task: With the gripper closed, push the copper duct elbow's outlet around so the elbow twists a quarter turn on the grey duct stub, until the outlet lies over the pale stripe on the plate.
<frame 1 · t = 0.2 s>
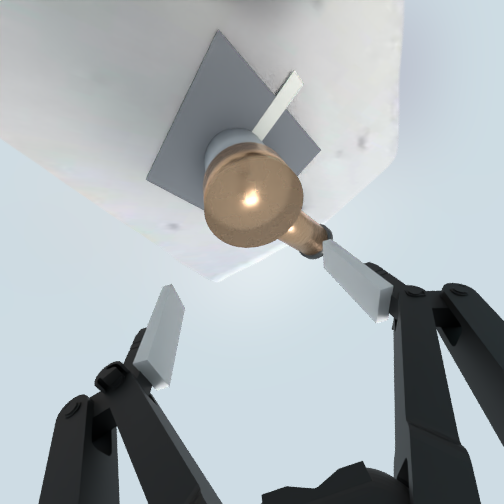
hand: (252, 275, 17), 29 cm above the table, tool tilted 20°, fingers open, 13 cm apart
copper elbow: (274, 215, 31), point 14 cm above the table, hinge at 0.0°
duct stub: (236, 162, 38), on the table
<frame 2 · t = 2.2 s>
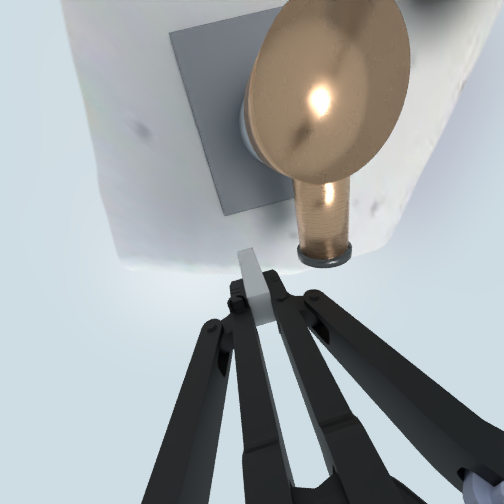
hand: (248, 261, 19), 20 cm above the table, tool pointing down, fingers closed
copper elbow: (319, 162, 21), point 14 cm above the table, hinge at 0.0°
duct stub: (276, 124, 31), on the table
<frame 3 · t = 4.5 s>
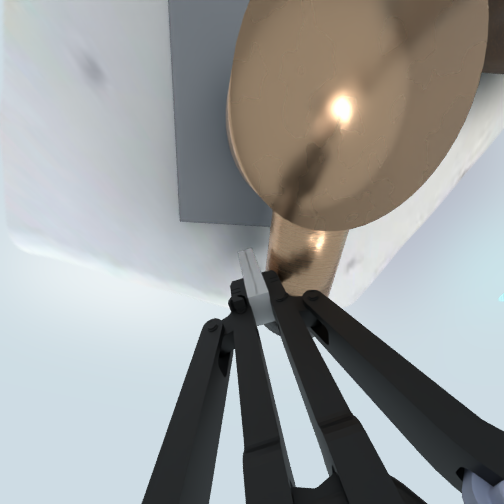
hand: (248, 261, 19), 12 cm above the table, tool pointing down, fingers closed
copper elbow: (314, 196, 15), point 14 cm above the table, hinge at 2.7°, touching gripper
plant pot: (481, 31, 24), on the table
duct stub: (274, 135, 25), on the table
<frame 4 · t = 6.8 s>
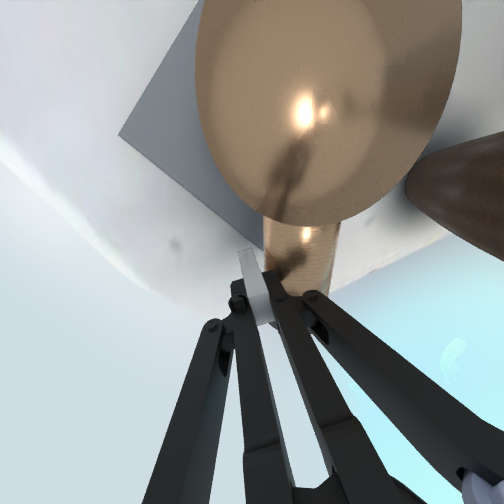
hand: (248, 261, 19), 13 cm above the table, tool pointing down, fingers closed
copper elbow: (302, 192, 15), point 14 cm above the table, hinge at 46.0°, touching gripper
plant pot: (425, 179, 31), on the table
duct stub: (262, 132, 25), on the table
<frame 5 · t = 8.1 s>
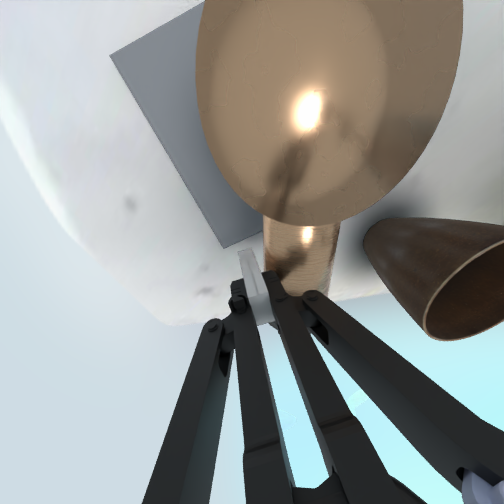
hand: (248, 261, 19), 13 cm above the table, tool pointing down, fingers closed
copper elbow: (302, 191, 15), point 14 cm above the table, hinge at 68.7°, touching gripper
plant pot: (381, 237, 35), on the table
duct stub: (263, 131, 25), on the table
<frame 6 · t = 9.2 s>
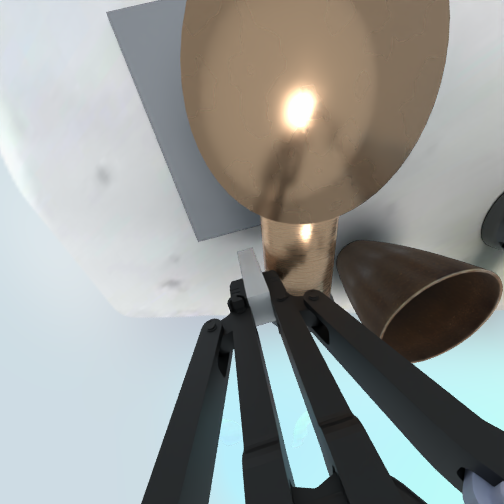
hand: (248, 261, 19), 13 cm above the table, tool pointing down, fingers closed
copper elbow: (298, 189, 15), point 14 cm above the table, hinge at 83.1°, touching gripper
plant pot: (353, 258, 37), on the table
duct stub: (257, 131, 25), on the table
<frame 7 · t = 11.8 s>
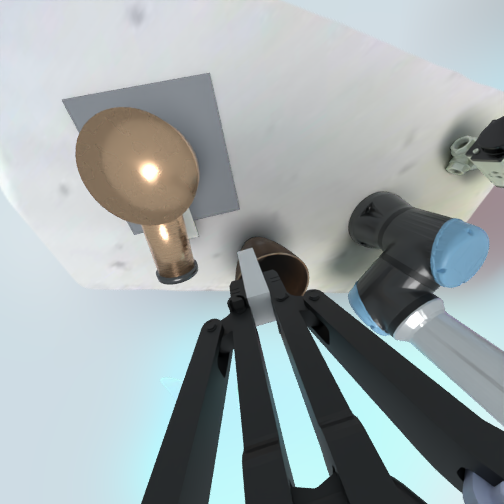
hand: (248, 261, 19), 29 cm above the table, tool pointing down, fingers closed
copper elbow: (159, 207, 29), point 14 cm above the table, hinge at 83.2°
plant pot: (256, 249, 52), on the table
duct stub: (167, 164, 39), on the table
ball valve: (456, 155, 50), on the table
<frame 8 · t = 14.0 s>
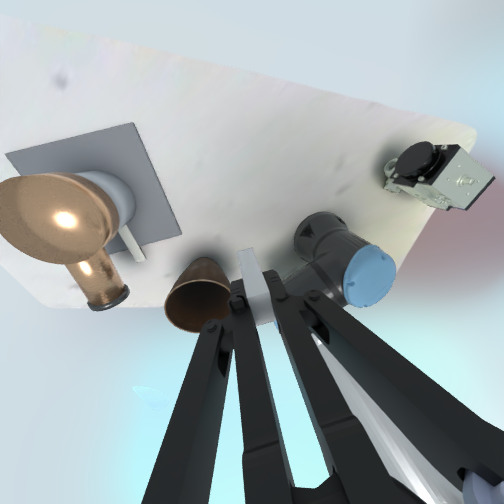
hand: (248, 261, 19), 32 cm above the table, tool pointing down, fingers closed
copper elbow: (80, 246, 33), point 14 cm above the table, hinge at 83.2°
plant pot: (205, 268, 55), on the table
duct stub: (108, 199, 43), on the table
ball valve: (393, 175, 52), on the table
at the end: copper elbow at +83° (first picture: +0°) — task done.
